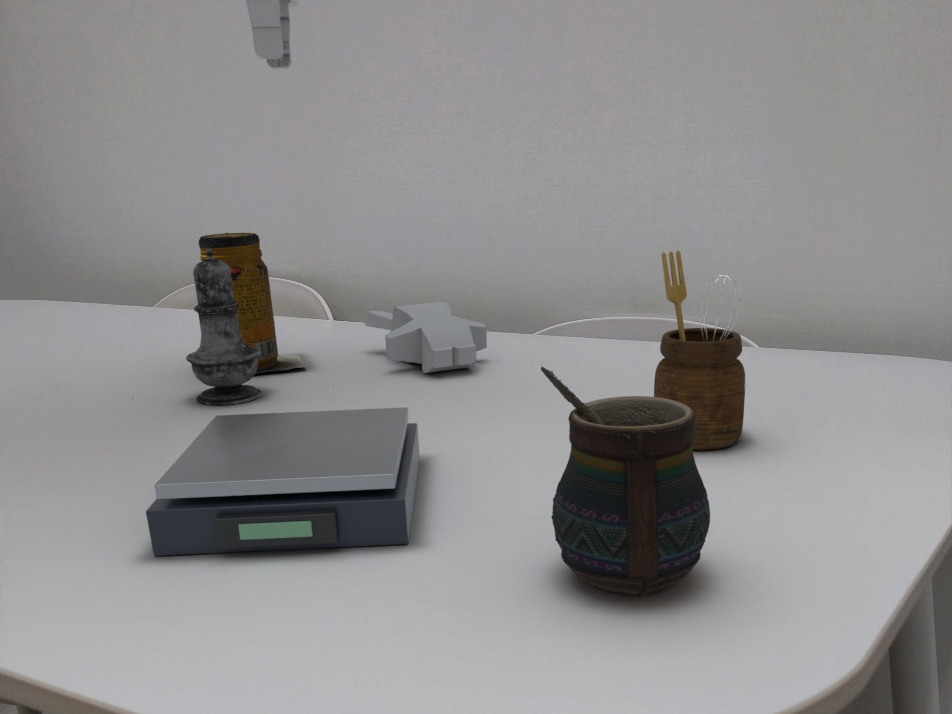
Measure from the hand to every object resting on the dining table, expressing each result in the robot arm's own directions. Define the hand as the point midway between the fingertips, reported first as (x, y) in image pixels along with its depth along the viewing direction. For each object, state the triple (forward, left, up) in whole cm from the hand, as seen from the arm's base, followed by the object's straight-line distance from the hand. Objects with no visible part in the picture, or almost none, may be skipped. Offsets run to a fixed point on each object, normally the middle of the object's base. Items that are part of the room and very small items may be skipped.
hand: (275, 63), depth 69 cm
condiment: (-7, +13, -25) cm, 29 cm away
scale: (+3, -24, -25) cm, 34 cm away
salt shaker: (-7, +2, -25) cm, 26 cm away
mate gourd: (+20, -36, -25) cm, 48 cm away
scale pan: (+3, -24, -22) cm, 32 cm away
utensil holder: (+28, -15, -25) cm, 40 cm away
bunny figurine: (+9, +13, -25) cm, 30 cm away
